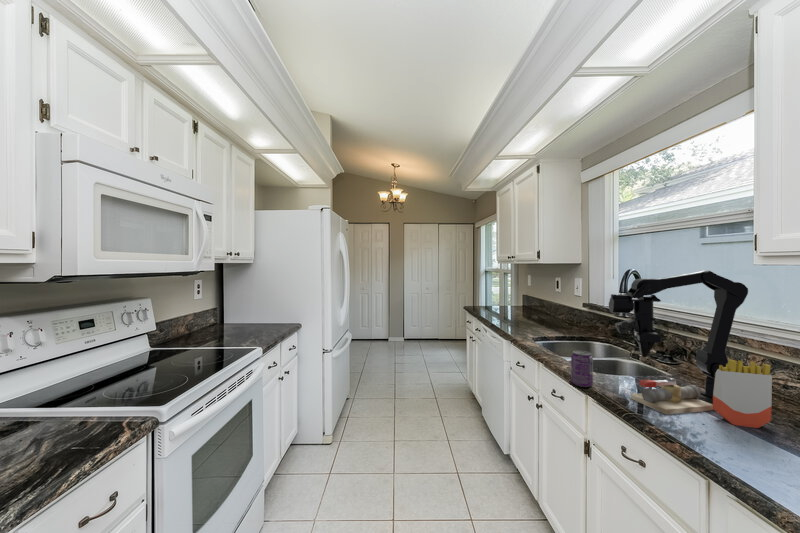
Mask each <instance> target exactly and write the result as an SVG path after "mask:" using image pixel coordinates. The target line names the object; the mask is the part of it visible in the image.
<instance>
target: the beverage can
mask: <svg viewBox="0 0 800 533" xmlns="http://www.w3.org/2000/svg"><path fill="white" fill-rule="evenodd" d="M570 359H571V360H570V382H571V383H572V384H573V385H575V386H577V387H581V388H589V387H591V386H593V384H594V382H593V381H594V358H593V356H592V353H591V352H590V351H586V350H573V351H572V354H571V357H570Z"/></svg>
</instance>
